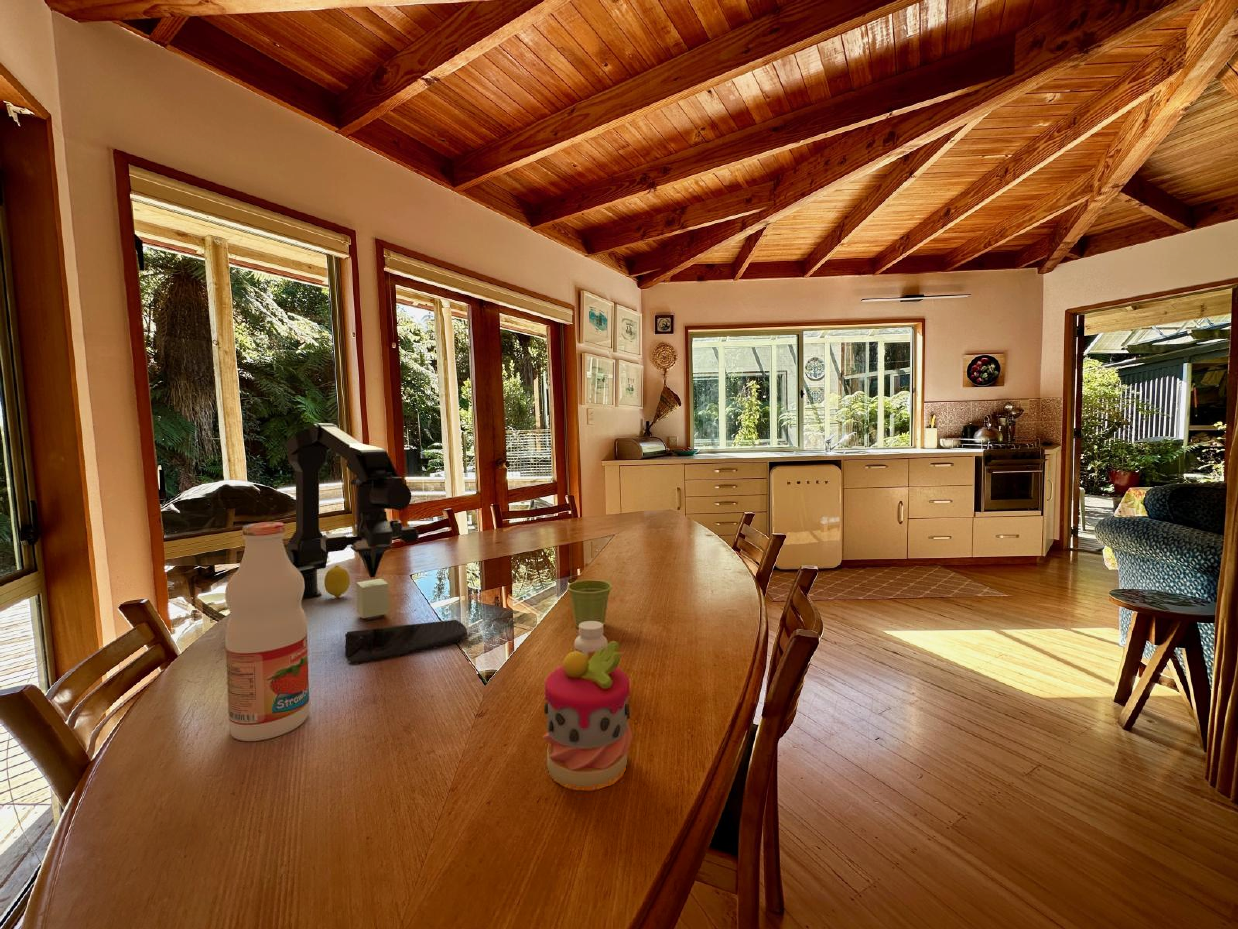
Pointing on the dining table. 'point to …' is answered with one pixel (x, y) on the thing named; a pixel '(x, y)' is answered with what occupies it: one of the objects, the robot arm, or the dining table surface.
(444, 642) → the dark slate chunk
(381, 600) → the cream rectangular block
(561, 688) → the cake
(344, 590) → the lemon
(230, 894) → the dining table surface
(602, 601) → the plant pot
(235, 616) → the fruit juice
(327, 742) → the dining table surface
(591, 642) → the supplement bottle
